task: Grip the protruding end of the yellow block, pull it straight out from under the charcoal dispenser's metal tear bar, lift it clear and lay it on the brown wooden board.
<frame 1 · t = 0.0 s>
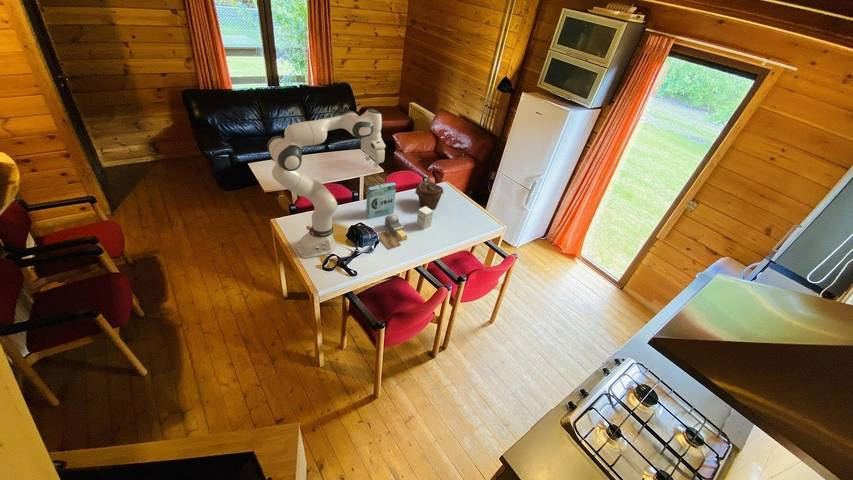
hand: (371, 163, 205), 48 cm above the table, fingers open, 8 cm apart
yellow block: (399, 235, 235), on the table
dispenser: (395, 232, 238), on the table
brown wooden board: (387, 240, 230), on the table
supplement box: (423, 225, 248), on the table
gum box: (380, 214, 251), on the table
brown plant pot: (427, 206, 268), on the table
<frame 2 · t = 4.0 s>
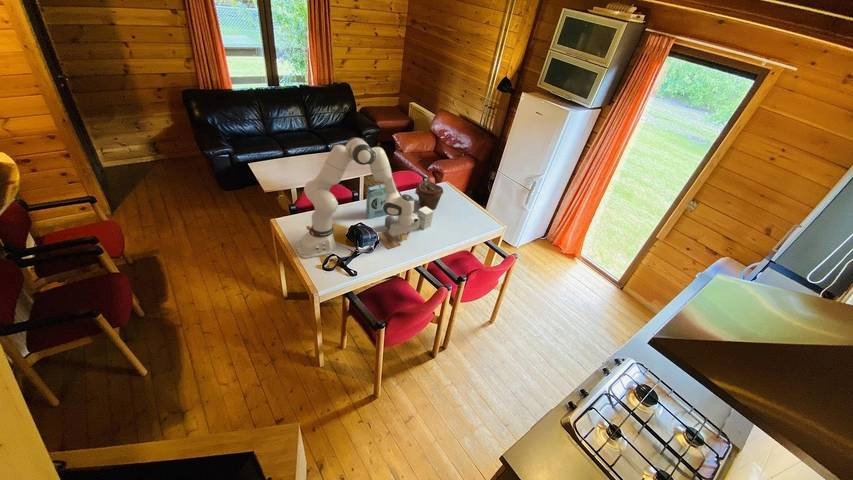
hand: (403, 237, 232), 2 cm above the table, fingers closed on yellow block, 4 cm apart
yellow block: (399, 235, 235), on the table, touching gripper
everything else where it was.
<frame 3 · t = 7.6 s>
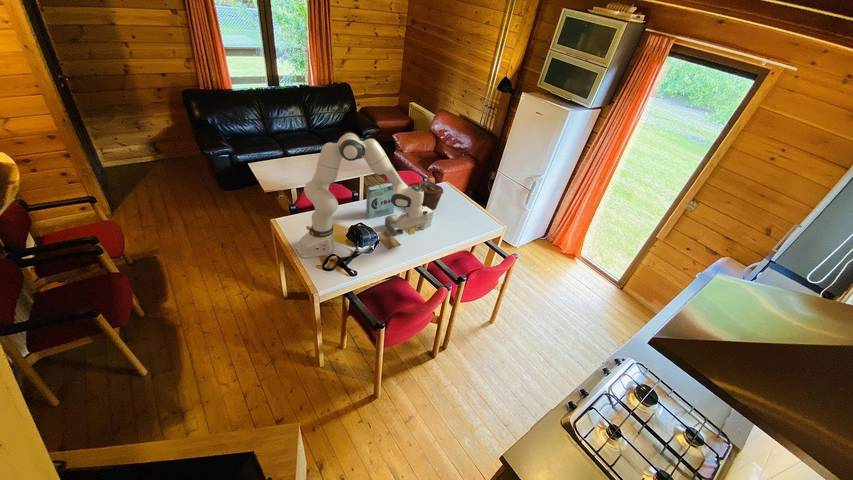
hand: (411, 230, 220), 12 cm above the table, fingers closed on yellow block, 4 cm apart
yellow block: (406, 228, 224), point 10 cm above the table, touching gripper
everything else where it was.
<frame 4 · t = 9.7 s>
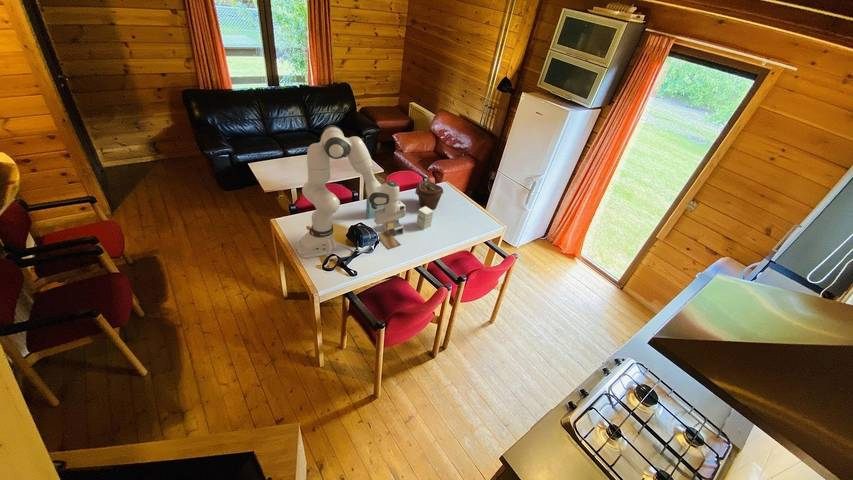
hand: (389, 225, 223), 11 cm above the table, fingers closed on yellow block, 4 cm apart
yellow block: (385, 223, 227), point 10 cm above the table, touching gripper
everything else where it was.
when the fingers open (4 cm above the table, at t = 11.3 s): yellow block drops 1 cm, resting on brown wooden board.
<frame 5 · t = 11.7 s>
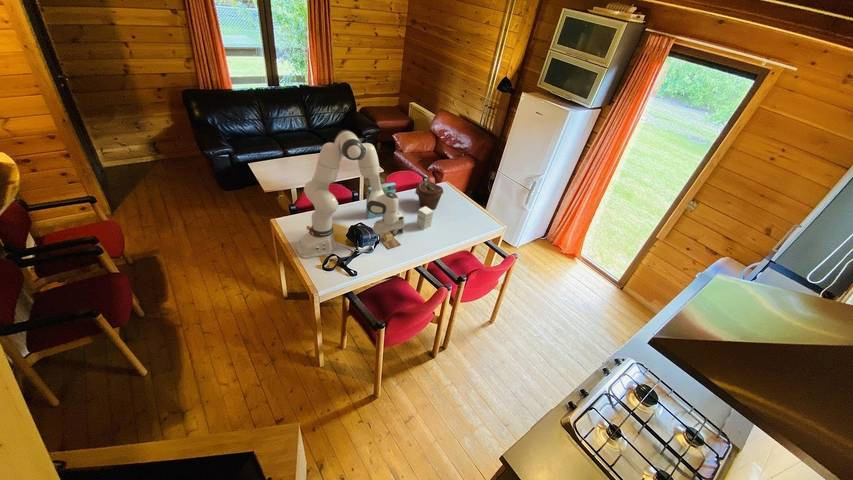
hand: (388, 235, 228), 4 cm above the table, fingers open, 8 cm apart
yellow block: (384, 235, 232), point 1 cm above the table, touching brown wooden board
everything else where it was.
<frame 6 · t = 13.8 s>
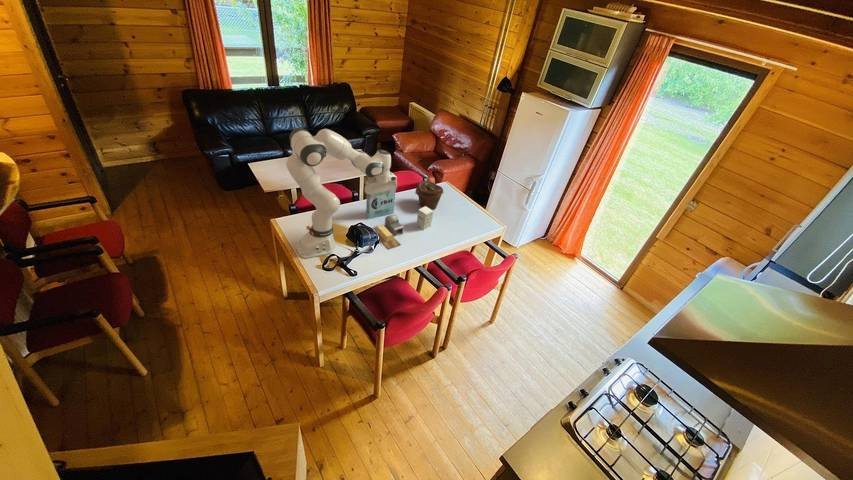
hand: (380, 197, 220), 25 cm above the table, fingers open, 8 cm apart
nothing on the table moved.
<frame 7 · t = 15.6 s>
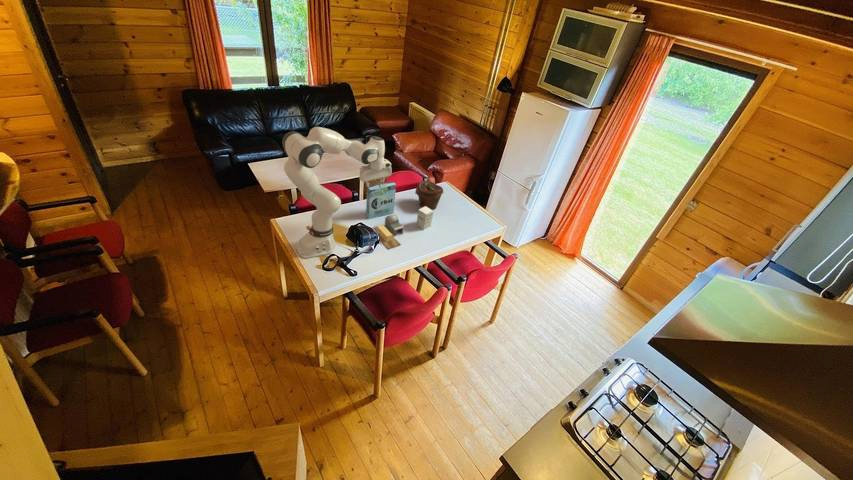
hand: (375, 184, 221), 31 cm above the table, fingers open, 8 cm apart
nothing on the table moved.
at the end: yellow block inside the target area on the brown wooden board (4.5 cm from its centre), point 0.6 cm above the brown wooden board's base; yellow block touching brown wooden board; the gripper is holding nothing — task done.
